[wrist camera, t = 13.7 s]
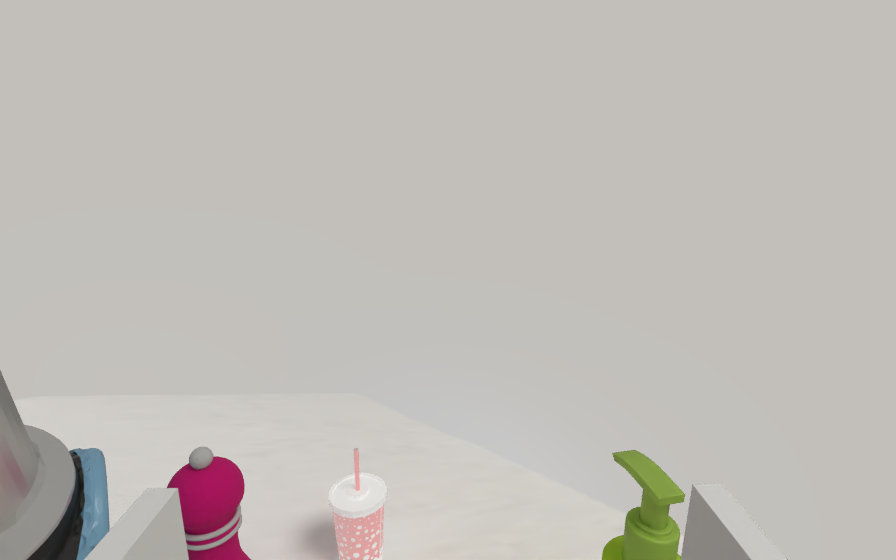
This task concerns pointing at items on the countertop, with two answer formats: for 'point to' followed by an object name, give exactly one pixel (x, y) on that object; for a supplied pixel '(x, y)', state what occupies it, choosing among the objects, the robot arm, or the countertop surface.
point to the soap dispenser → (647, 514)
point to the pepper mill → (210, 506)
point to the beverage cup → (358, 514)
